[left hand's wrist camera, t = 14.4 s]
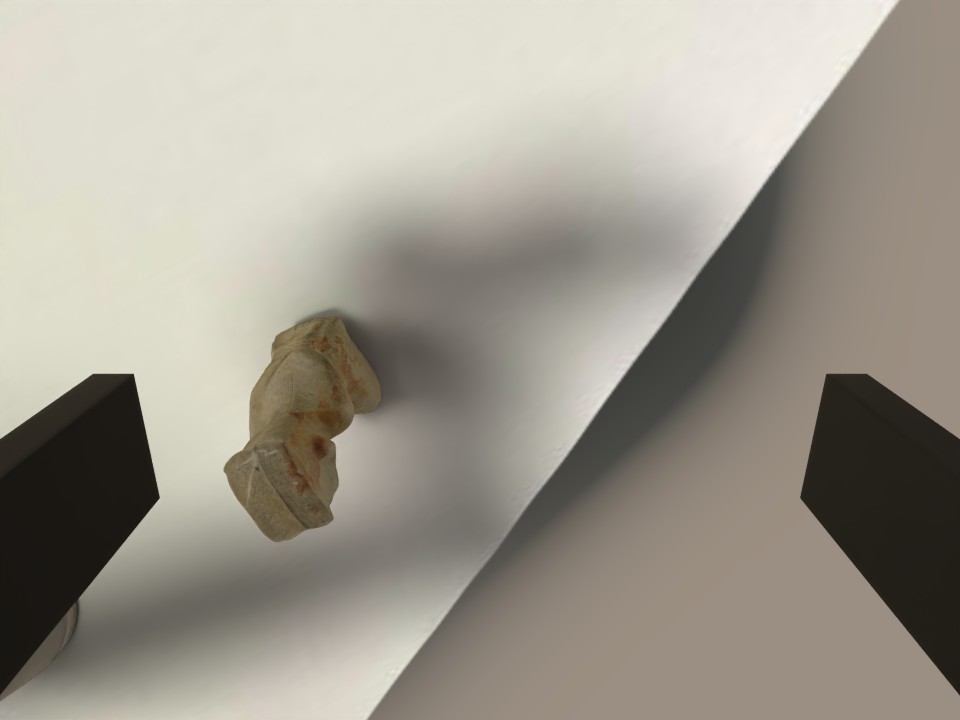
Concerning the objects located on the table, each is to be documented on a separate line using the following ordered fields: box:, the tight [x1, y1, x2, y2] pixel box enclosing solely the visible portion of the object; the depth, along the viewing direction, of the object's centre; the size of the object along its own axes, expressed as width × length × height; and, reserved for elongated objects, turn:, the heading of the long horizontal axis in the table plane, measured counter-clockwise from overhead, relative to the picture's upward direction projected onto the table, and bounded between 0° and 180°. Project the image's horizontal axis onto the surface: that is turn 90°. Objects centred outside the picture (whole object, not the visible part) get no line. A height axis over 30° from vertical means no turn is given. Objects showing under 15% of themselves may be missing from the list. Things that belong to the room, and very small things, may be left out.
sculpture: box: [224, 316, 382, 542], centre depth 36 cm, size 6×7×15 cm
